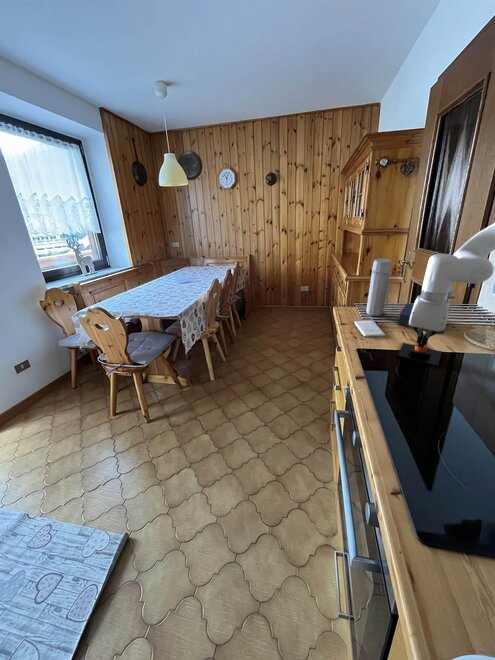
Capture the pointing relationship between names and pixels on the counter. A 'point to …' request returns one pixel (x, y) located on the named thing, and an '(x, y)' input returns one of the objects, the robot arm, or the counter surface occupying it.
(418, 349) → the button
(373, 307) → the water bottle
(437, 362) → the switch block
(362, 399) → the counter surface
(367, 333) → the hard drive
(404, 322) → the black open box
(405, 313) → the cover
